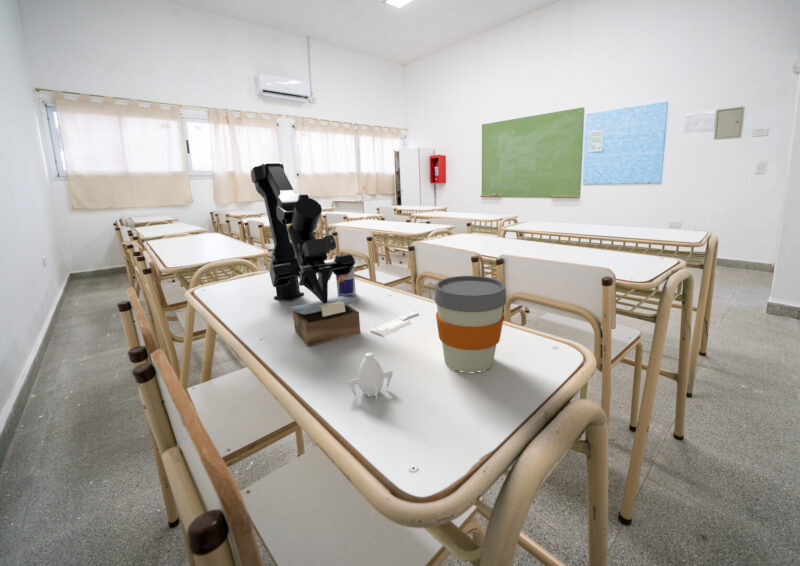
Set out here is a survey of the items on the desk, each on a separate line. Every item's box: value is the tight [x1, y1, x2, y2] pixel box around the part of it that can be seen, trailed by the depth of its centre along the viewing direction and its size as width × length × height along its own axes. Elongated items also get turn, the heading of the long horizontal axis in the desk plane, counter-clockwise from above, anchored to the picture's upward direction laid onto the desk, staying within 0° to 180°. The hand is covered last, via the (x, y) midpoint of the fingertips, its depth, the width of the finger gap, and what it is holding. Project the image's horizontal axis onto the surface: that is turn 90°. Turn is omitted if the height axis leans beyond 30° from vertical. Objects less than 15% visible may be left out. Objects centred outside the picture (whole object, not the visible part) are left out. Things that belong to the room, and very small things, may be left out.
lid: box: [290, 296, 360, 317], centre depth 82 cm, size 11×12×2 cm
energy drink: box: [334, 253, 357, 298], centre depth 109 cm, size 5×5×12 cm
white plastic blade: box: [370, 311, 420, 338], centre depth 87 cm, size 5×15×1 cm, turn 136°
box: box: [292, 304, 361, 347], centre depth 84 cm, size 10×12×5 cm
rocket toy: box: [347, 349, 394, 402], centre depth 59 cm, size 5×5×8 cm
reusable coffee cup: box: [434, 275, 507, 372], centre depth 67 cm, size 13×13×15 cm
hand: (325, 302), depth 82 cm, fingers closed
